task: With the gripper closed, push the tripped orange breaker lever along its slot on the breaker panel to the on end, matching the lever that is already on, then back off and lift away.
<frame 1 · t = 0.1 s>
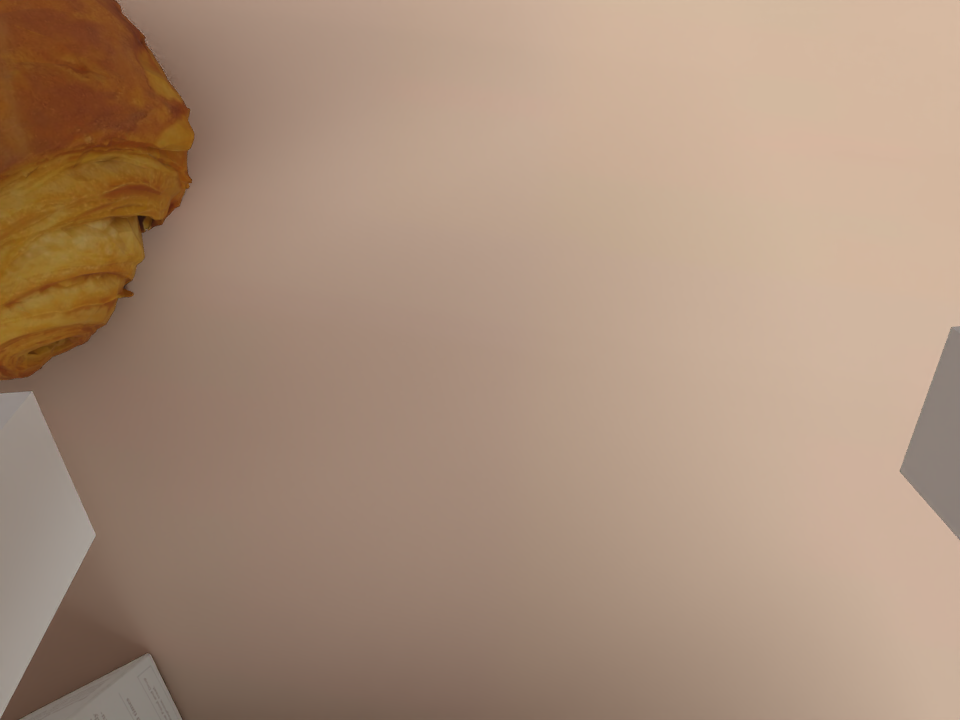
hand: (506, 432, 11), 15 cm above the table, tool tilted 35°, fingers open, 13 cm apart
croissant: (9, 173, 26), on the table
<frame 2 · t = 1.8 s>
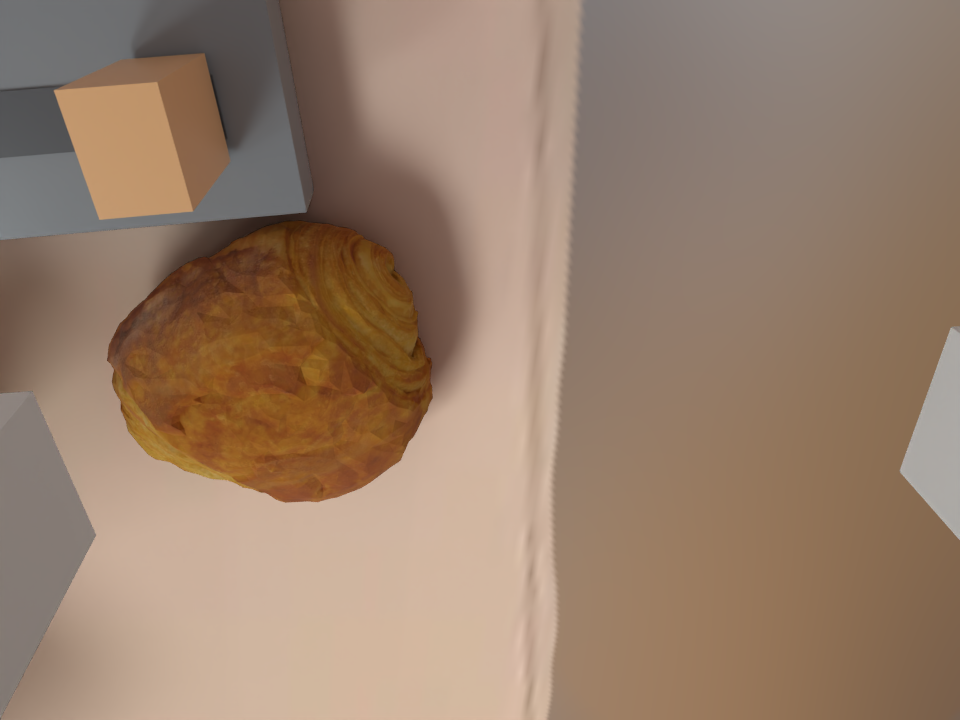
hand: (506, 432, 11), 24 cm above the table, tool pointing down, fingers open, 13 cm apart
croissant: (291, 351, 37), on the table
breaker b: (155, 131, 25), point 6 cm above the table, slide at 0.0 cm
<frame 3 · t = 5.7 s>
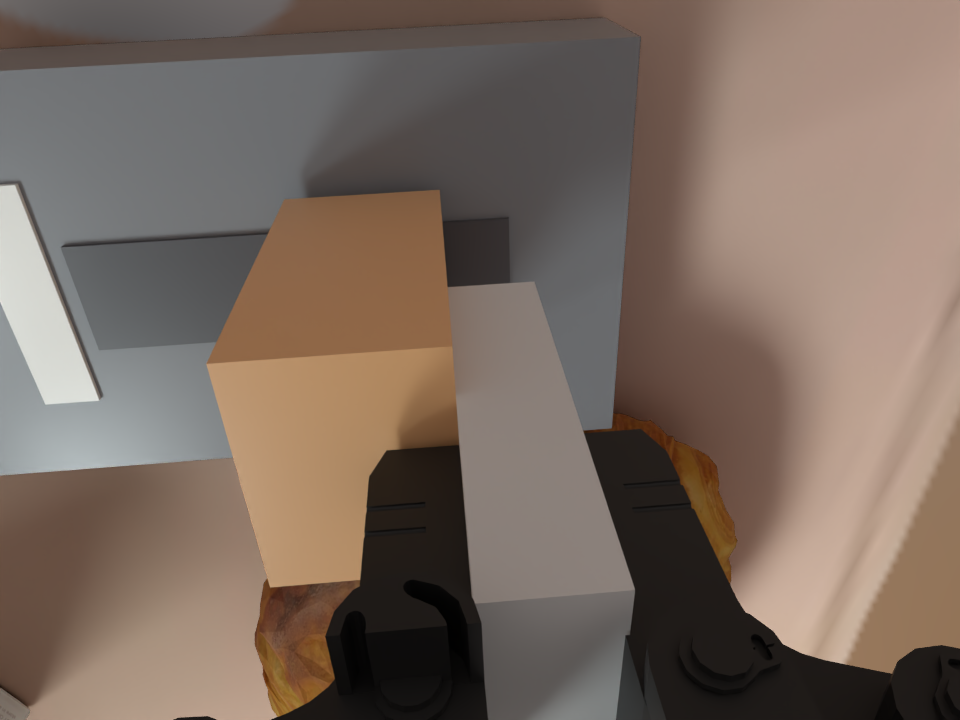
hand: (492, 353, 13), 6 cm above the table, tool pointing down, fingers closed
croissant: (502, 564, 25), on the table
breaker b: (365, 363, 12), point 6 cm above the table, slide at 1.4 cm, touching gripper
breaker panel: (68, 247, 17), on the table
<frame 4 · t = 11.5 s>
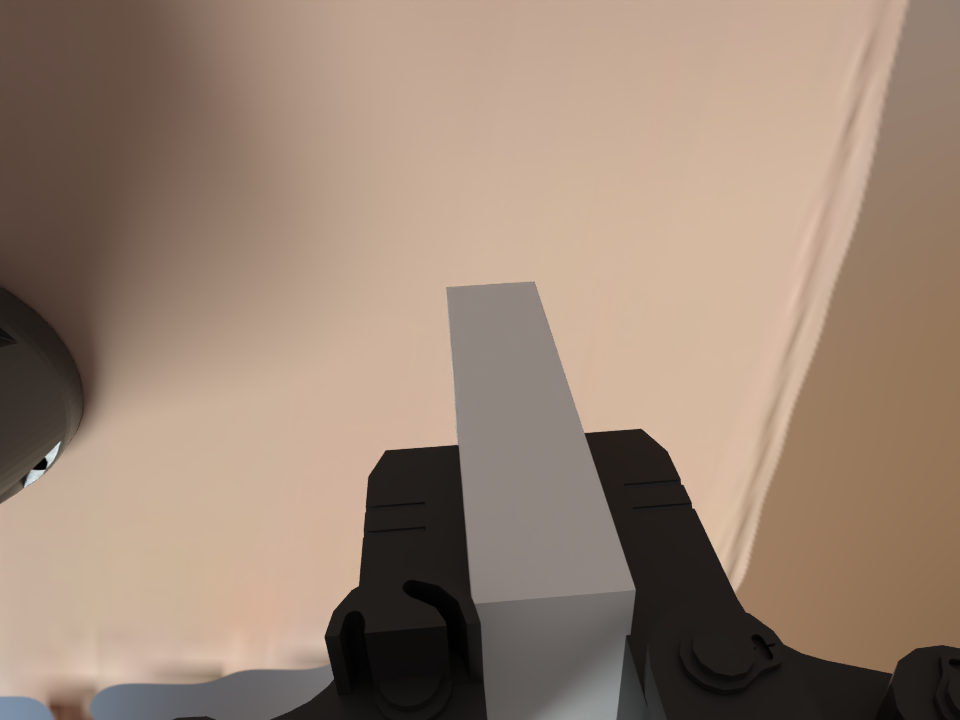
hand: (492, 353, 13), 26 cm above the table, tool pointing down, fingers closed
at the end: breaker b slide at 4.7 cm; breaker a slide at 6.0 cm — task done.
